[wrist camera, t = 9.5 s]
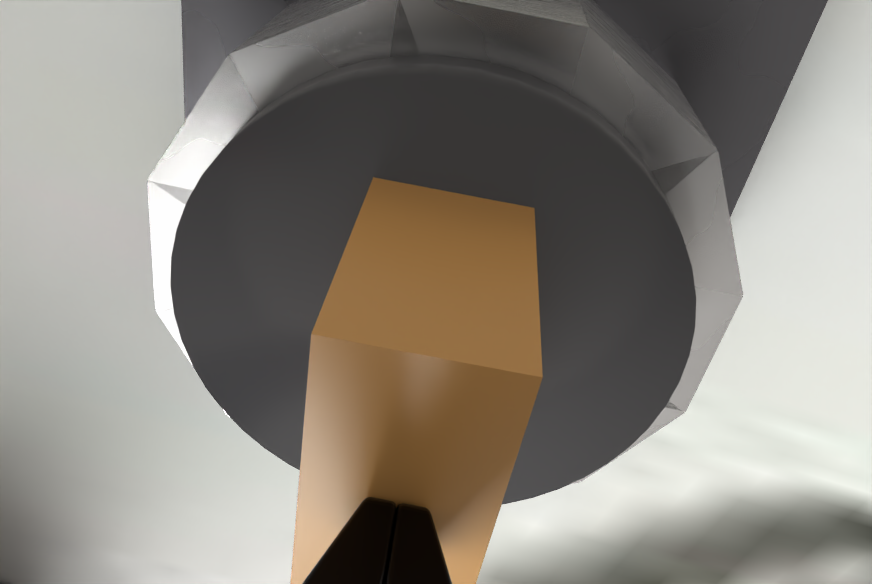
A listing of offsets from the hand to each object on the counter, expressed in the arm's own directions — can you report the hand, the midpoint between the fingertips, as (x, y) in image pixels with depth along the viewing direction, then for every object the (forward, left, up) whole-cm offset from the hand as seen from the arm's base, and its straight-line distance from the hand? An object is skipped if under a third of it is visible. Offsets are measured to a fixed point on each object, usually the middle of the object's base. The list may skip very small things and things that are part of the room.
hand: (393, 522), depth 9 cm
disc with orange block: (0, 0, -7) cm, 7 cm away
